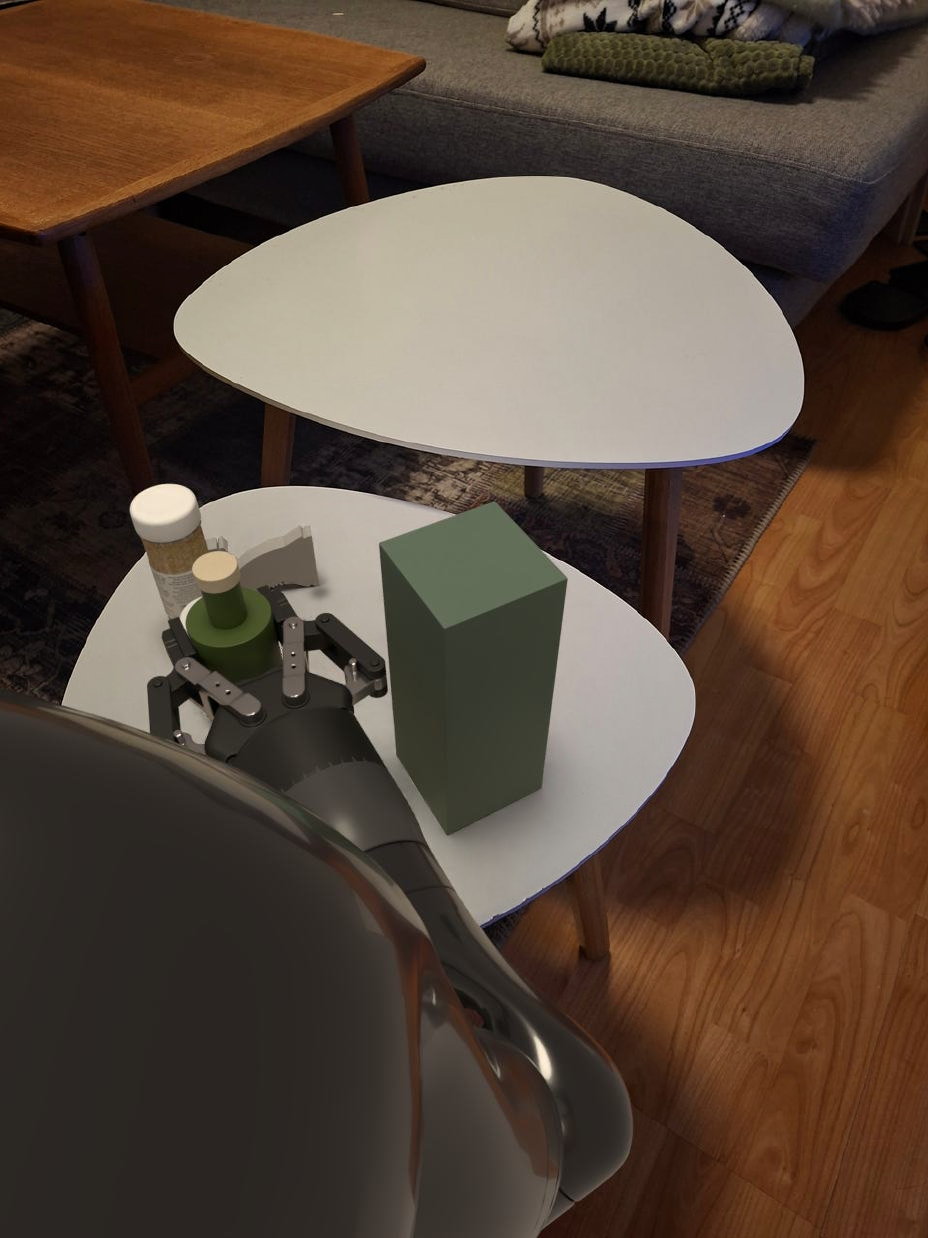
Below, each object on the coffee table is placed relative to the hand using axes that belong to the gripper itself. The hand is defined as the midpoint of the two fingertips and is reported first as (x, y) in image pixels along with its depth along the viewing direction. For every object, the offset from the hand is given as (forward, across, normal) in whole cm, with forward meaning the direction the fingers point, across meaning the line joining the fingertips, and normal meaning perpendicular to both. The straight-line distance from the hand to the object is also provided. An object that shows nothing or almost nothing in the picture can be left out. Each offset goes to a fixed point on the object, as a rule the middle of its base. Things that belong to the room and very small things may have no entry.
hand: (220, 612), depth 55 cm
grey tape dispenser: (+14, -6, +13) cm, 20 cm away
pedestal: (-10, -12, +13) cm, 20 cm away
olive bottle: (-3, 0, +7) cm, 7 cm away
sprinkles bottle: (+12, 0, +13) cm, 17 cm away
